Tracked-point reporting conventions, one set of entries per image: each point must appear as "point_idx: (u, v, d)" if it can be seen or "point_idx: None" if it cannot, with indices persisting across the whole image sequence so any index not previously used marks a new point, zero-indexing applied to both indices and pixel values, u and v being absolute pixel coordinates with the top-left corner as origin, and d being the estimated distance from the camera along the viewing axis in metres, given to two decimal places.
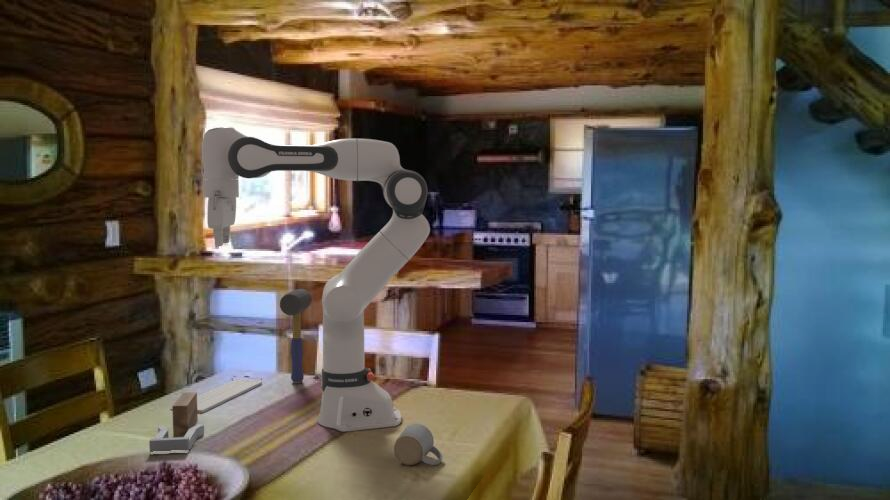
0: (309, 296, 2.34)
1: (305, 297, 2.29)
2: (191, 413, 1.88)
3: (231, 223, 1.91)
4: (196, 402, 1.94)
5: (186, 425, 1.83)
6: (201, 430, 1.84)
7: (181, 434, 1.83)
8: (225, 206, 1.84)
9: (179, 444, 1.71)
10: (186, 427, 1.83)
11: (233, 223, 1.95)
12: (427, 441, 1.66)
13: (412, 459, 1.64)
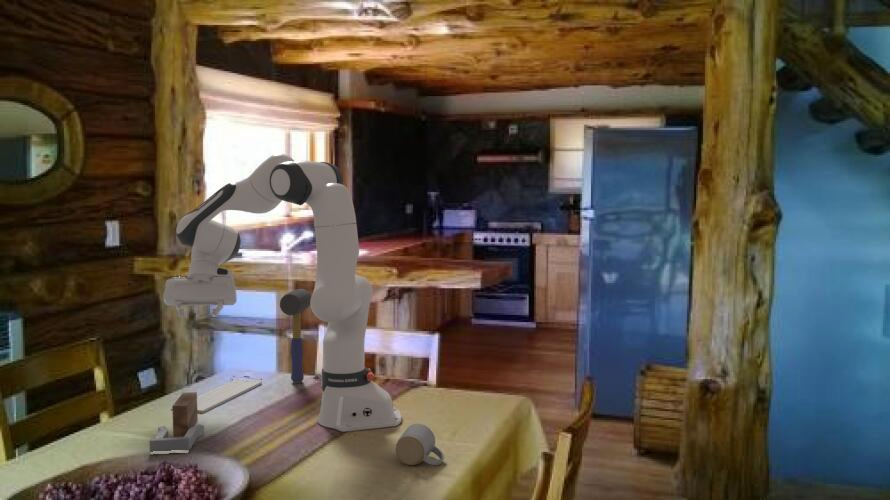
0: (309, 296, 2.34)
1: (305, 297, 2.29)
2: (191, 413, 1.88)
3: (213, 297, 2.09)
4: (196, 402, 1.94)
5: (186, 425, 1.83)
6: (201, 430, 1.84)
7: (181, 434, 1.83)
8: (190, 284, 2.11)
9: (179, 444, 1.71)
10: (186, 427, 1.83)
11: (226, 297, 2.10)
12: (429, 442, 1.66)
13: (413, 459, 1.63)
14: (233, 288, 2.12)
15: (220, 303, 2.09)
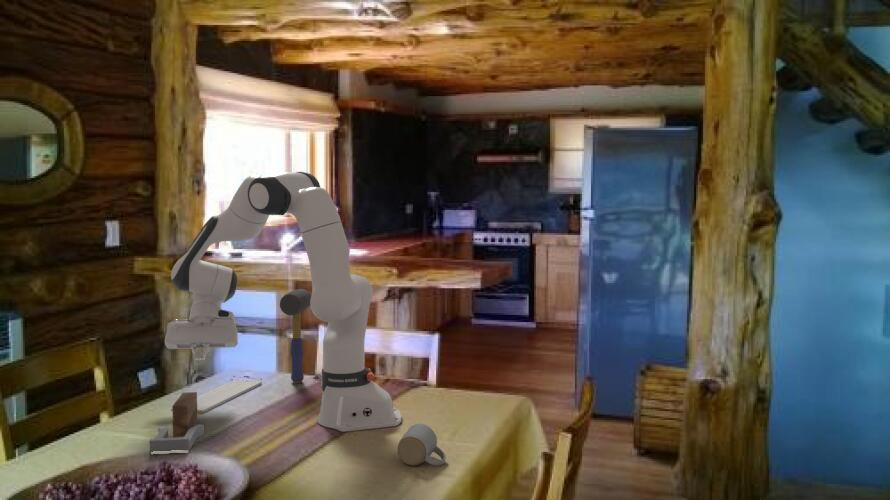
0: (309, 296, 2.34)
1: (305, 297, 2.29)
2: (191, 413, 1.88)
3: (215, 340, 2.09)
4: (196, 402, 1.94)
5: (186, 425, 1.83)
6: (201, 430, 1.84)
7: (181, 434, 1.83)
8: (191, 327, 2.12)
9: (179, 444, 1.71)
10: (186, 427, 1.83)
11: (227, 340, 2.10)
12: (430, 442, 1.66)
13: (415, 459, 1.63)
14: (234, 330, 2.12)
15: (207, 346, 2.09)
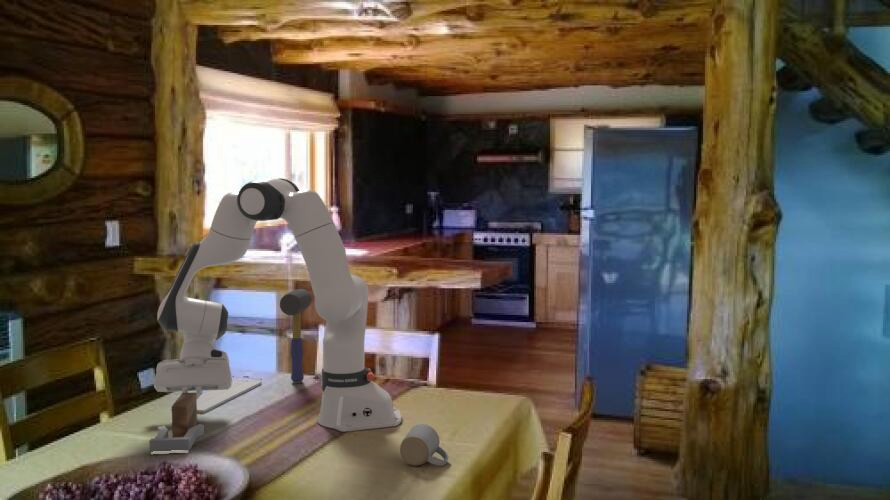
0: (309, 296, 2.34)
1: (305, 297, 2.29)
2: (190, 413, 1.87)
3: (207, 382, 1.97)
4: (195, 402, 1.94)
5: (185, 425, 1.83)
6: (201, 430, 1.84)
7: (180, 434, 1.83)
8: (182, 368, 1.99)
9: (179, 444, 1.71)
10: (185, 427, 1.83)
11: (220, 382, 1.98)
12: (433, 442, 1.66)
13: (418, 460, 1.63)
14: (228, 372, 2.00)
15: (199, 389, 1.97)
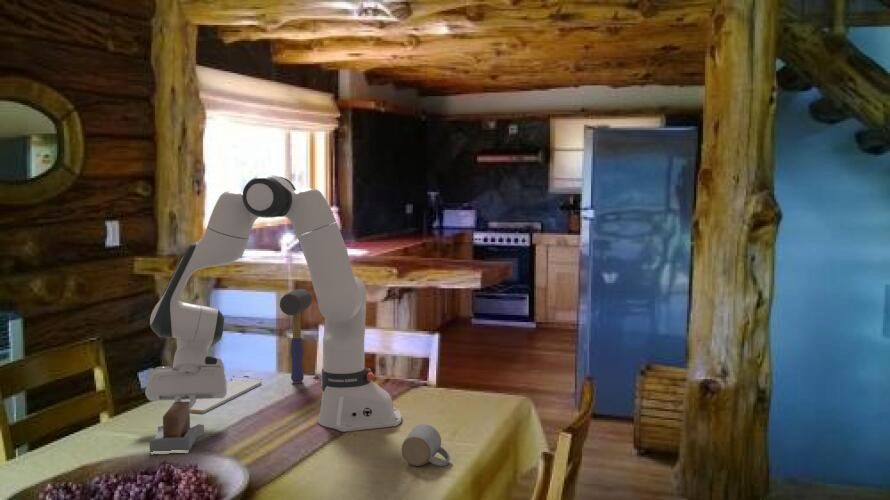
0: (309, 296, 2.34)
1: (305, 297, 2.29)
2: (183, 424, 1.79)
3: (201, 391, 1.89)
4: (188, 412, 1.85)
5: None
6: (201, 430, 1.84)
7: None
8: (175, 376, 1.91)
9: (179, 444, 1.71)
10: None
11: (215, 391, 1.90)
12: (434, 442, 1.66)
13: (419, 460, 1.63)
14: (223, 380, 1.91)
15: (192, 398, 1.88)
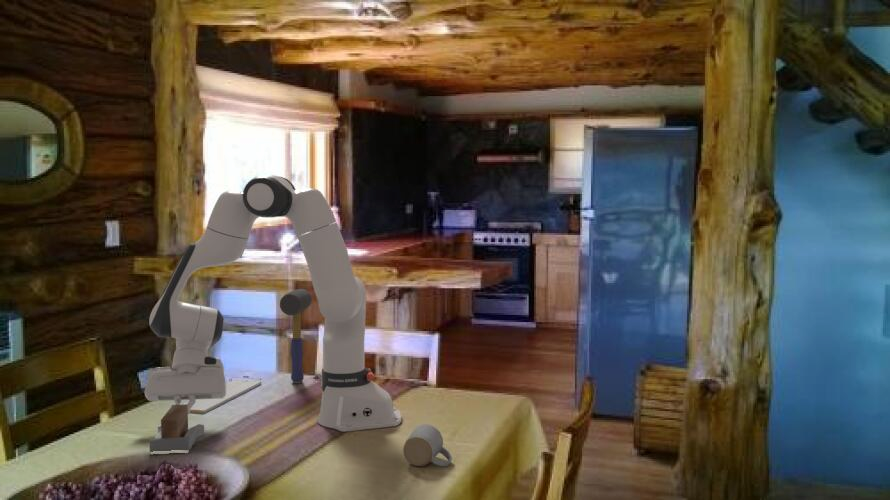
0: (309, 296, 2.34)
1: (305, 297, 2.29)
2: (181, 427, 1.77)
3: (200, 391, 1.89)
4: (187, 415, 1.83)
5: None
6: (201, 430, 1.84)
7: None
8: (174, 376, 1.91)
9: (179, 444, 1.71)
10: None
11: (214, 391, 1.89)
12: (436, 442, 1.66)
13: (421, 460, 1.63)
14: (222, 380, 1.91)
15: (192, 398, 1.88)
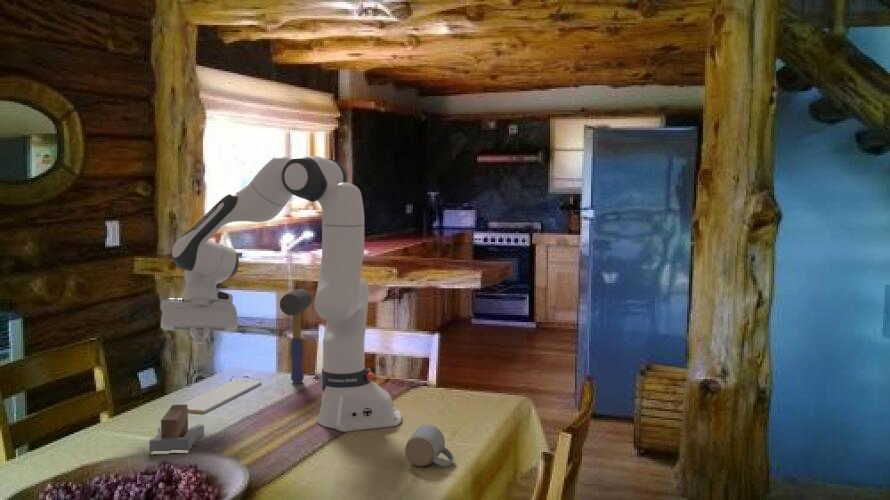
0: (309, 296, 2.34)
1: (305, 297, 2.29)
2: (181, 427, 1.77)
3: (215, 323, 2.01)
4: (187, 415, 1.83)
5: None
6: (201, 430, 1.84)
7: None
8: (188, 308, 2.01)
9: (179, 444, 1.71)
10: None
11: (229, 324, 2.02)
12: (438, 442, 1.66)
13: (423, 460, 1.63)
14: (235, 314, 2.04)
15: (207, 330, 2.00)
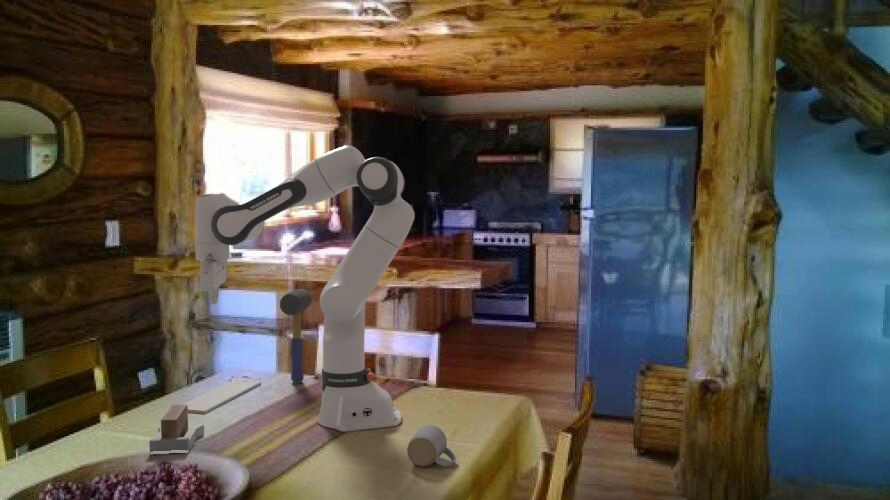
0: (309, 296, 2.34)
1: (305, 297, 2.29)
2: (181, 427, 1.77)
3: (222, 282, 2.02)
4: (187, 415, 1.83)
5: None
6: (201, 430, 1.84)
7: None
8: (216, 268, 1.95)
9: (179, 444, 1.71)
10: None
11: (224, 281, 2.06)
12: (440, 443, 1.65)
13: (425, 460, 1.63)
14: (226, 269, 2.07)
15: (218, 289, 2.00)
